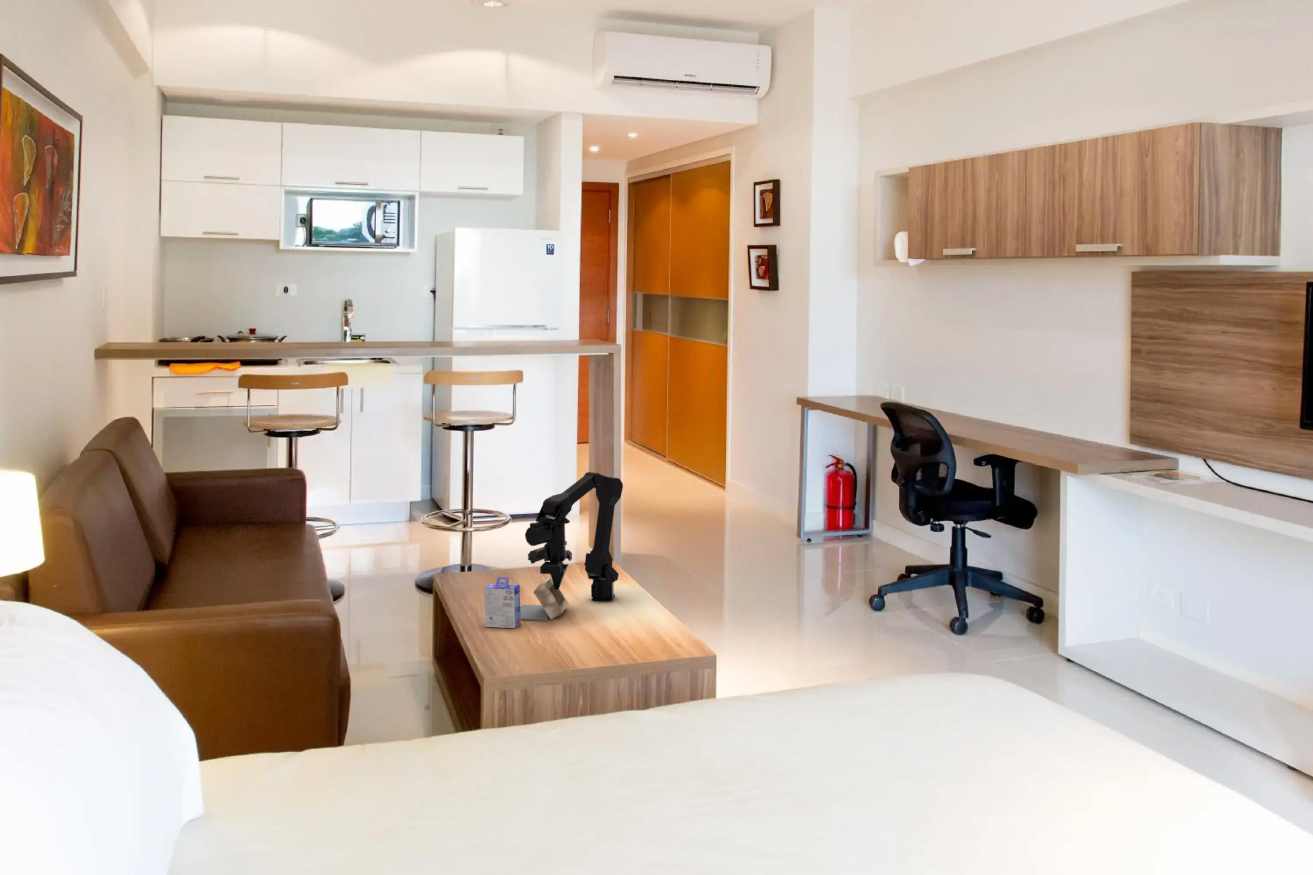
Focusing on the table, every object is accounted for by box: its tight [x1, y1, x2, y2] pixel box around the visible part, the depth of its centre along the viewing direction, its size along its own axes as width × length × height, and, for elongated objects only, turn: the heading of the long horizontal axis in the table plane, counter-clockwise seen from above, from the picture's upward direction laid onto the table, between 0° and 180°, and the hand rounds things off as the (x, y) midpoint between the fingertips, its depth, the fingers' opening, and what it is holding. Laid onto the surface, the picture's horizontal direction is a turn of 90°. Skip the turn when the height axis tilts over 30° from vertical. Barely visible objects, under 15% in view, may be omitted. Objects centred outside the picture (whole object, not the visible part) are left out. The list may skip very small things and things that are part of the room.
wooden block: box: [533, 576, 569, 620], centre depth 359 cm, size 4×10×10 cm
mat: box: [520, 604, 550, 622], centre depth 360 cm, size 11×14×1 cm
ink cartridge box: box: [483, 576, 522, 629], centre depth 348 cm, size 10×6×14 cm, turn 78°
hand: (557, 589), depth 358 cm, fingers closed
